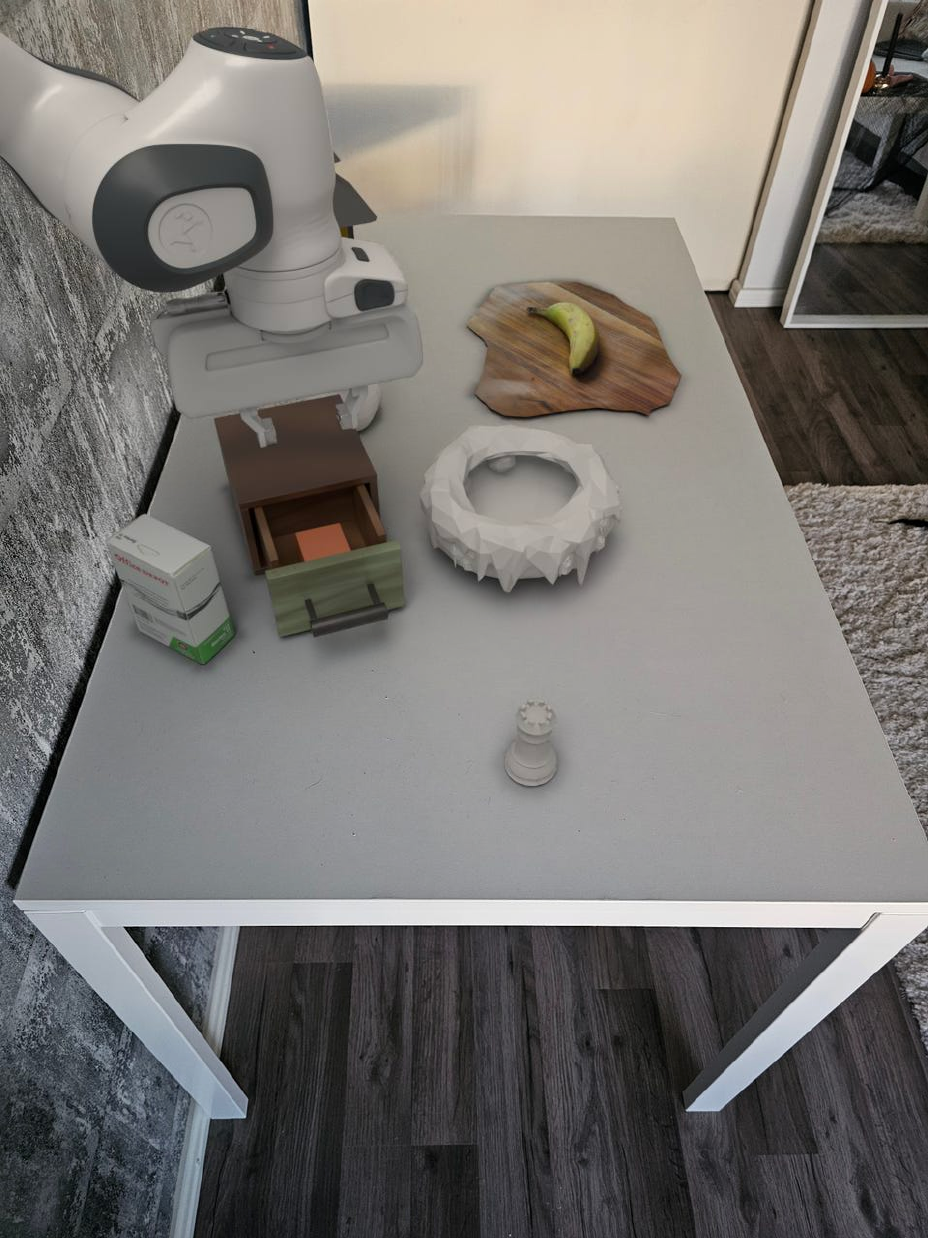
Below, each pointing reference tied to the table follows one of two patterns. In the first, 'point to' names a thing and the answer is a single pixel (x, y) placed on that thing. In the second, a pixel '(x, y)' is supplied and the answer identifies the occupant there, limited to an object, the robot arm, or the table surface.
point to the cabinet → (291, 461)
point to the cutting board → (569, 351)
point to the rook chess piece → (532, 745)
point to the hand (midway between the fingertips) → (308, 434)
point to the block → (321, 542)
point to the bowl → (519, 503)
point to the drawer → (329, 563)
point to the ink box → (172, 587)
